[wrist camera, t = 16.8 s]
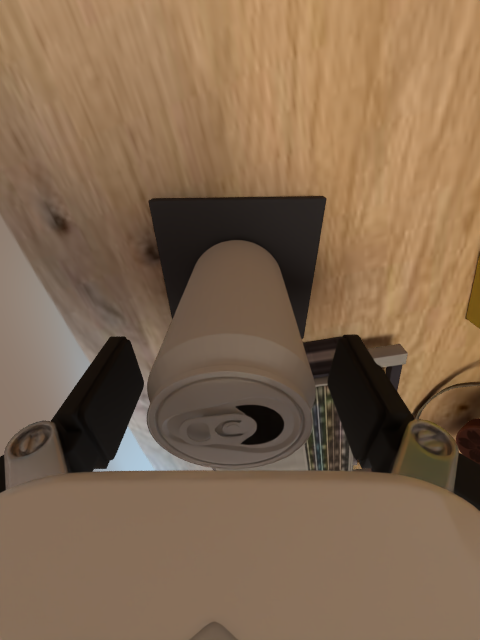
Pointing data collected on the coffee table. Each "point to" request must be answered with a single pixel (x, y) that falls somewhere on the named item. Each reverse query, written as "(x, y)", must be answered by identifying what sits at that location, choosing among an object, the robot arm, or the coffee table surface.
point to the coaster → (240, 238)
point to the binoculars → (465, 430)
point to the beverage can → (232, 366)
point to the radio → (331, 413)
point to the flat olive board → (475, 299)
